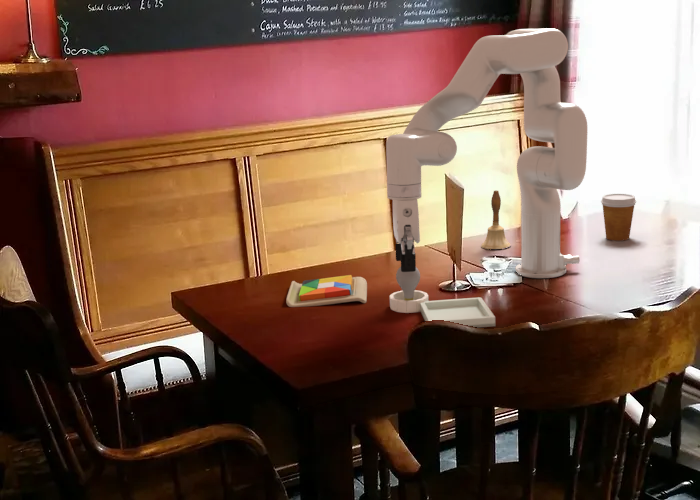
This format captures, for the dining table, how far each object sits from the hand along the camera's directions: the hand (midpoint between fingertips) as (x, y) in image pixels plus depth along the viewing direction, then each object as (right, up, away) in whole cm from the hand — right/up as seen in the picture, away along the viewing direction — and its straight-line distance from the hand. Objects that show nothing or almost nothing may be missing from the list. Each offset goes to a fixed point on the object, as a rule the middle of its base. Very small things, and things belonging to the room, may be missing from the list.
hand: (405, 265), depth 200 cm
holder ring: (+1, -9, +3) cm, 10 cm away
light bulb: (+1, -10, +3) cm, 10 cm away
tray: (+11, -11, -6) cm, 17 cm away
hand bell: (+29, +4, +51) cm, 59 cm away
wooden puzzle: (-18, -8, +16) cm, 25 cm away
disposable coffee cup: (+64, +7, +53) cm, 83 cm away
